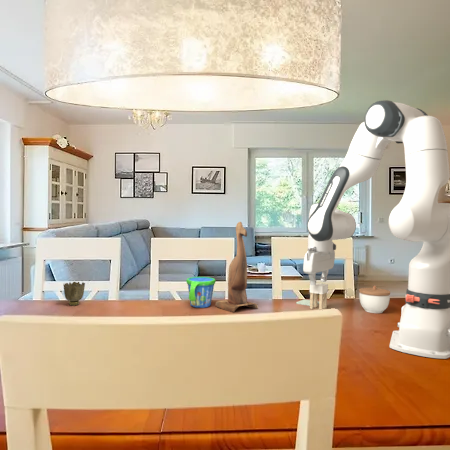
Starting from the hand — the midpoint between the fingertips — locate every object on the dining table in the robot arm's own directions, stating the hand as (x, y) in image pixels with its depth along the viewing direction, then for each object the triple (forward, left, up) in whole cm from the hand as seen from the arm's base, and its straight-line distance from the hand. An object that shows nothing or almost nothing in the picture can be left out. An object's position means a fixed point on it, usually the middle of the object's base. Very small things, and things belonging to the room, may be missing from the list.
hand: (318, 283), depth 158 cm
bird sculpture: (-20, +23, -10) cm, 32 cm away
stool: (0, 0, -9) cm, 9 cm away
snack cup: (-26, +35, -10) cm, 45 cm away
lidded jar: (+9, -18, -10) cm, 22 cm away
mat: (+5, +6, -9) cm, 12 cm away
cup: (-55, +71, -10) cm, 90 cm away
